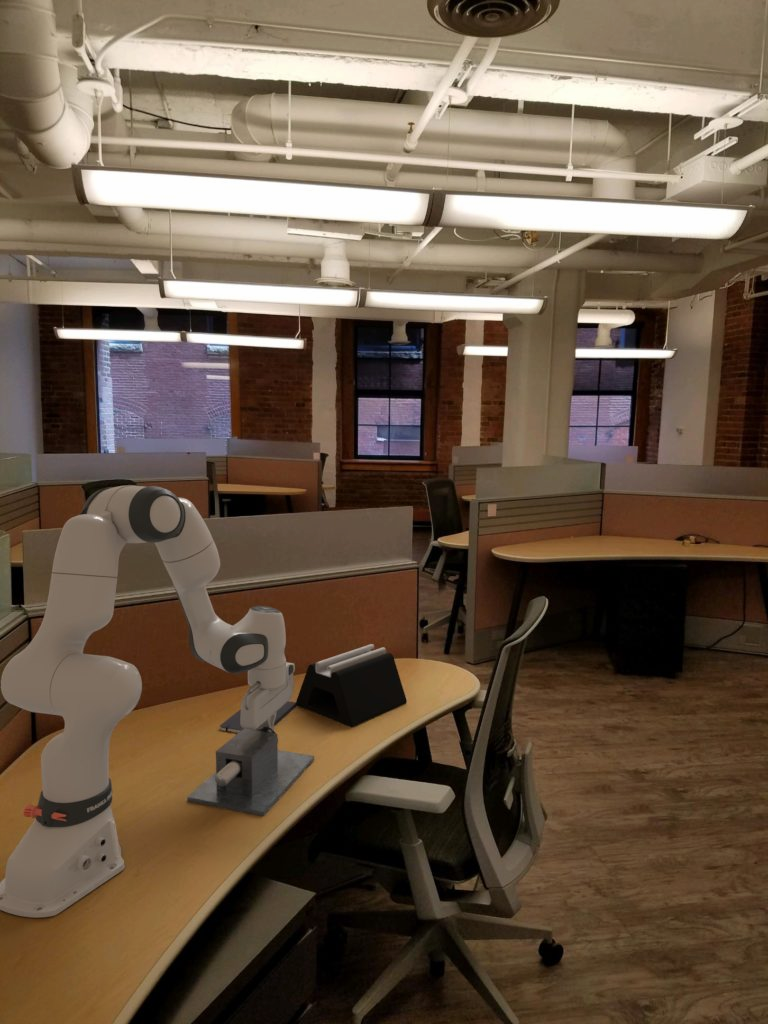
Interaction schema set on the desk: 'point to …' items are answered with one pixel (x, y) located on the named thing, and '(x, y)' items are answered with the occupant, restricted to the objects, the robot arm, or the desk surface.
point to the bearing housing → (252, 774)
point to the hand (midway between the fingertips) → (268, 731)
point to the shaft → (235, 766)
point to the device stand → (352, 686)
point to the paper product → (235, 726)
